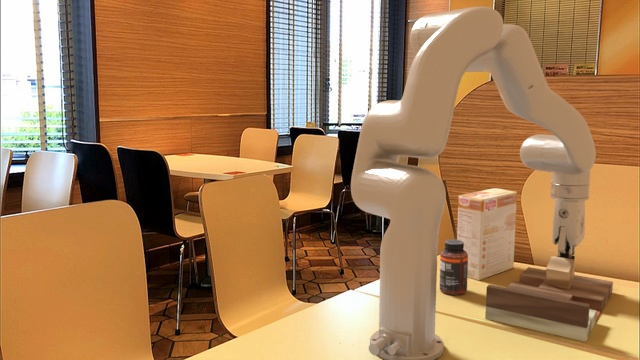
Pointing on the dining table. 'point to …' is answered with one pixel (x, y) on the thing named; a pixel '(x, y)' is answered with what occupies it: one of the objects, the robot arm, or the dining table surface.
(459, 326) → the dining table surface
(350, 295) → the dining table surface
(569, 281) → the maple block
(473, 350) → the dining table surface
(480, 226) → the coffeecake box
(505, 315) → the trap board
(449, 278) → the supplement bottle
